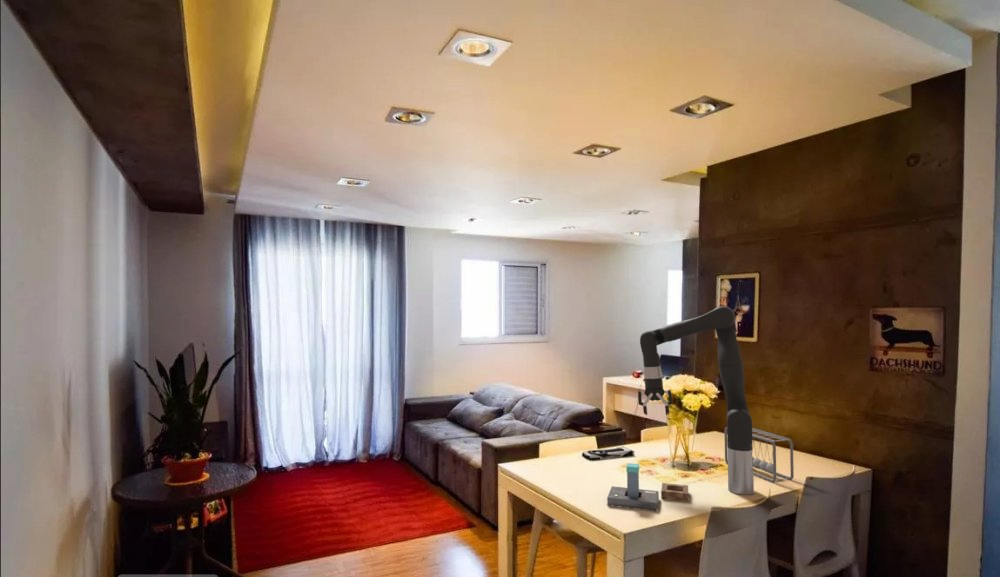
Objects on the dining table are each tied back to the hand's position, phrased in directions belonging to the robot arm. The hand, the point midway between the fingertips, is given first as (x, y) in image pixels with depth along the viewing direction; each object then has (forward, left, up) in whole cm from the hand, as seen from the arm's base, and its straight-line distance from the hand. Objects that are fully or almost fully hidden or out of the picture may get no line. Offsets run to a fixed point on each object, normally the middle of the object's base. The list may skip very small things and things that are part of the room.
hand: (656, 414), depth 232 cm
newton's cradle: (-42, -26, -28) cm, 57 cm away
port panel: (+7, +29, -28) cm, 41 cm away
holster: (-8, +17, -28) cm, 34 cm away
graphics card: (+26, -31, -29) cm, 49 cm away
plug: (+8, +29, -28) cm, 41 cm away
